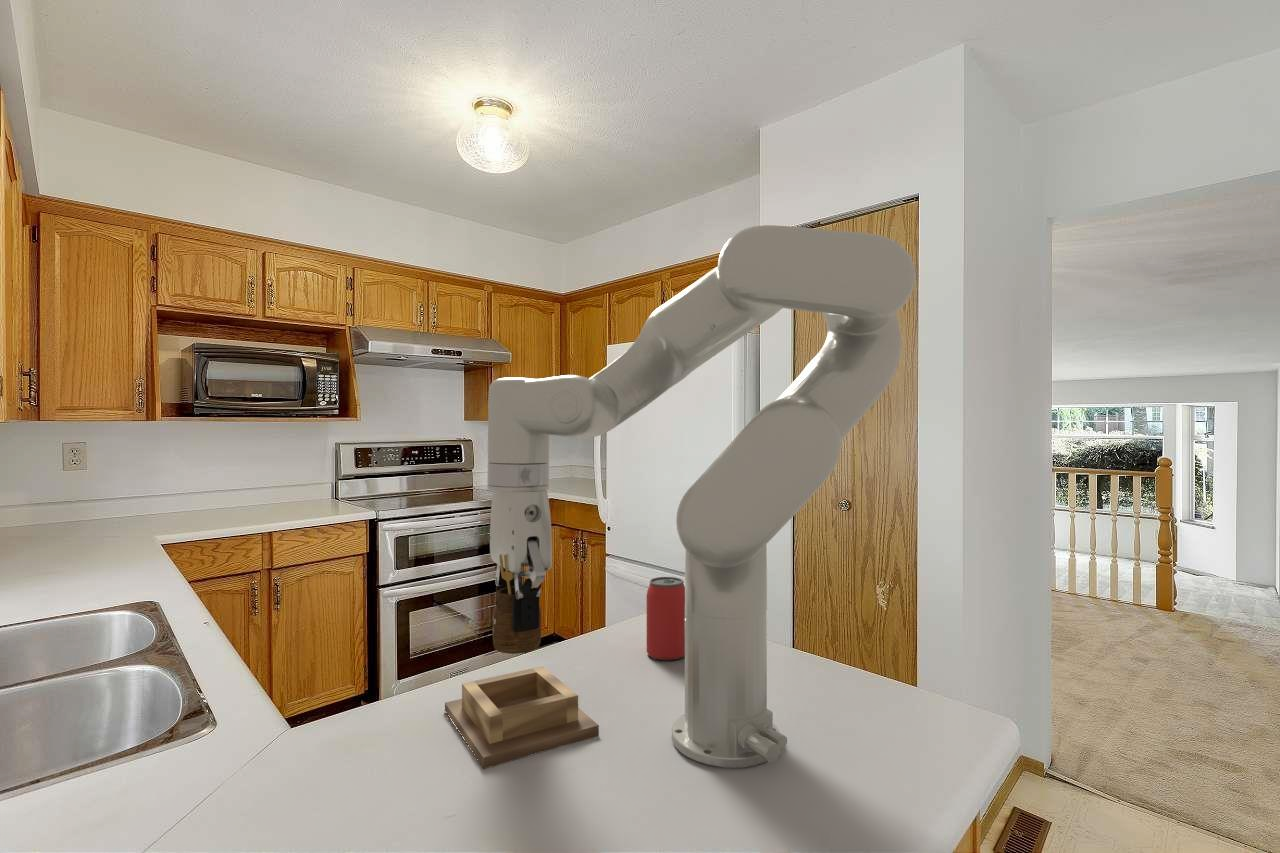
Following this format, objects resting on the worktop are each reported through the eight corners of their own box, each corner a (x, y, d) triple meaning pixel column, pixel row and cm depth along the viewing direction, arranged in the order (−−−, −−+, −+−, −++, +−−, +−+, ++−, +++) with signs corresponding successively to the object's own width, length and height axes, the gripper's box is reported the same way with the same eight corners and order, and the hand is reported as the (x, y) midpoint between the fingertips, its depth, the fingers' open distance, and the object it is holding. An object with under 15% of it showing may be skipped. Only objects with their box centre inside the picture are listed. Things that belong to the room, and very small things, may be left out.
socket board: (598, 735, 75) (598, 699, 75) (483, 768, 67) (483, 729, 67) (545, 688, 88) (545, 658, 88) (444, 711, 81) (444, 679, 81)
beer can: (694, 652, 102) (694, 579, 103) (674, 665, 97) (674, 587, 97) (659, 645, 106) (659, 574, 106) (638, 657, 100) (638, 582, 100)
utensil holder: (548, 641, 80) (548, 547, 80) (527, 657, 74) (527, 555, 74) (506, 637, 81) (507, 545, 82) (482, 653, 75) (482, 553, 76)
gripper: (575, 481, 73) (573, 638, 72) (522, 472, 87) (520, 602, 87) (513, 484, 69) (511, 649, 69) (468, 473, 83) (466, 610, 83)
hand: (516, 621), depth 78 cm, fingers closed on utensil holder, 5 cm apart
